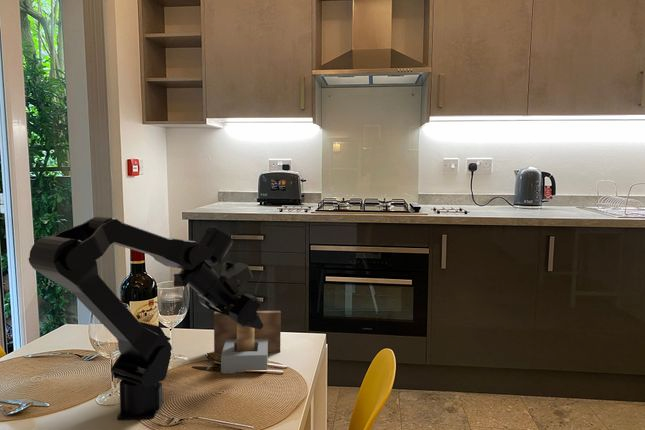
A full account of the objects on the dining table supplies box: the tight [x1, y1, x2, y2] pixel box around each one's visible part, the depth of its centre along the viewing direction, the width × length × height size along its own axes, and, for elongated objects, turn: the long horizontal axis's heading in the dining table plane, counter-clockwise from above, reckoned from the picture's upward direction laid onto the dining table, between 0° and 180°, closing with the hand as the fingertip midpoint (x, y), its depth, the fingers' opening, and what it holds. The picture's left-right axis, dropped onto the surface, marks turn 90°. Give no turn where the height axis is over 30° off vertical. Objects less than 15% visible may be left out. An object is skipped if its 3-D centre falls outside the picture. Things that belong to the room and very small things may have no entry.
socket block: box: [220, 338, 269, 374], centre depth 107 cm, size 10×10×4 cm
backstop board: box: [213, 310, 282, 354], centre depth 114 cm, size 16×2×10 cm, turn 95°
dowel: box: [237, 323, 254, 352], centre depth 107 cm, size 4×4×12 cm
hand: (251, 322), depth 107 cm, fingers open, 9 cm apart
